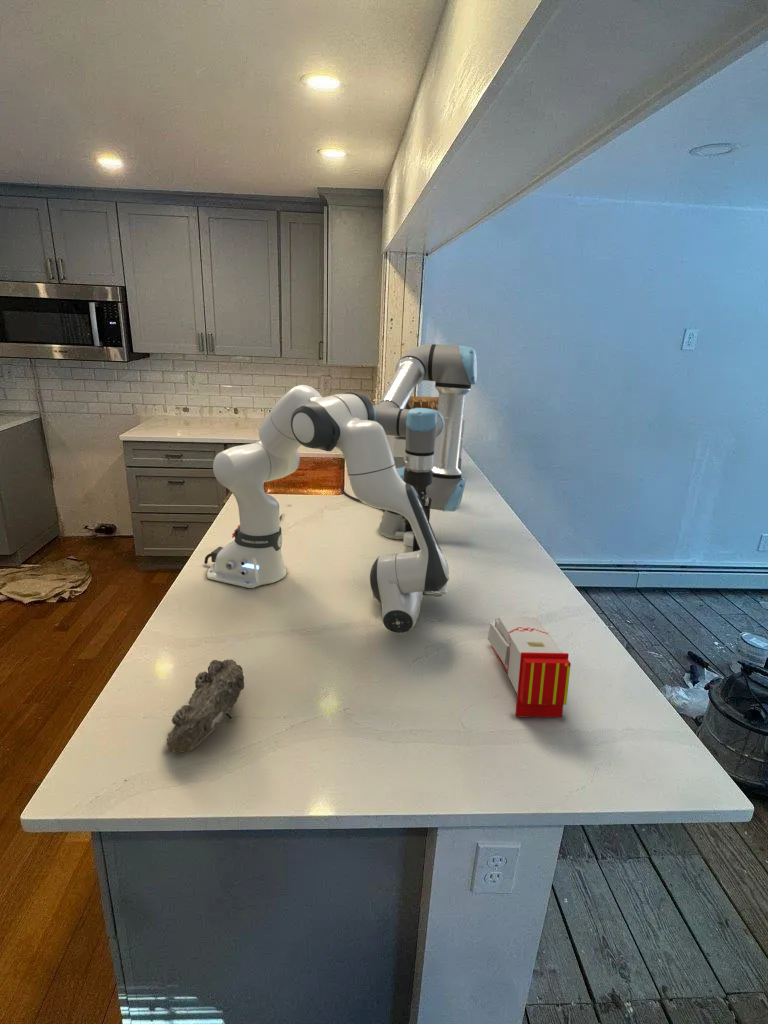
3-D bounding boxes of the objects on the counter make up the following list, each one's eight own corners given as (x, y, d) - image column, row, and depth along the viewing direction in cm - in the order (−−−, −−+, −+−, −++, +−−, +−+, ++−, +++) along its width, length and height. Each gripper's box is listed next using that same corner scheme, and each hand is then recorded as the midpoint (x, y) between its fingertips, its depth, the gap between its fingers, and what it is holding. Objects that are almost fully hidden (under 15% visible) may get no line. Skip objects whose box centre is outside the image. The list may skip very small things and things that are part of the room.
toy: (534, 602, 136) (579, 659, 107) (529, 653, 139) (572, 723, 110) (484, 601, 136) (516, 658, 107) (480, 652, 139) (510, 722, 109)
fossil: (192, 660, 117) (244, 628, 112) (224, 691, 120) (276, 661, 115) (142, 746, 98) (202, 712, 93) (182, 779, 101) (242, 748, 96)
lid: (399, 540, 156) (400, 532, 155) (416, 537, 159) (417, 529, 158) (410, 548, 151) (411, 540, 151) (427, 544, 154) (428, 536, 153)
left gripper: (447, 584, 143) (450, 562, 156) (368, 576, 146) (377, 554, 159) (445, 606, 145) (448, 582, 158) (367, 597, 148) (376, 574, 161)
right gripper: (392, 460, 155) (388, 539, 163) (419, 479, 138) (413, 565, 146) (417, 459, 157) (412, 536, 165) (447, 477, 141) (439, 562, 149)
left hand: (412, 568), depth 159 cm, fingers closed on jar, 5 cm apart
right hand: (413, 550), depth 156 cm, fingers closed on lid, 5 cm apart
